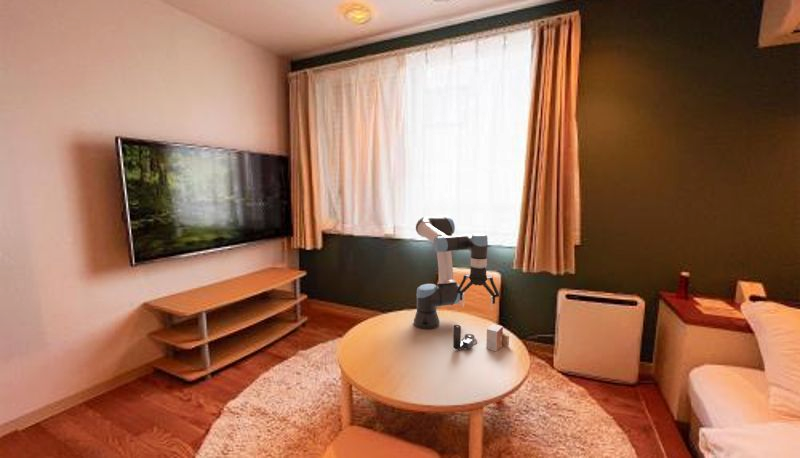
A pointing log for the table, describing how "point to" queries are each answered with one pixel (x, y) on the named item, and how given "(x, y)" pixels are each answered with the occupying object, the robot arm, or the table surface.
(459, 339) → the lever
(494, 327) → the small box
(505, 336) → the backstop
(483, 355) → the table surface
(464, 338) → the pivot disc
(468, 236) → the robot arm
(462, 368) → the table surface
